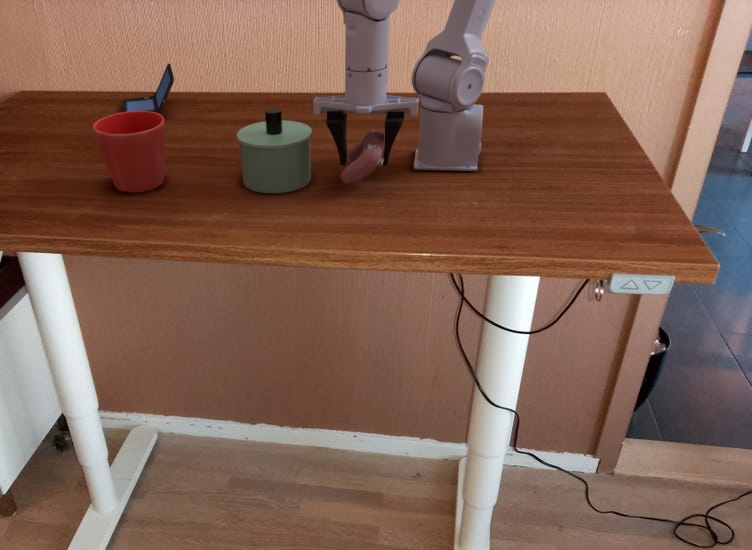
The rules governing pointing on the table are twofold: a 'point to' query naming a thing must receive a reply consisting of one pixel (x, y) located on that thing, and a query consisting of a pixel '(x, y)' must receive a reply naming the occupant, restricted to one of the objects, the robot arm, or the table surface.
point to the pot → (276, 168)
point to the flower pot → (133, 149)
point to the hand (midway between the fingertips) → (364, 163)
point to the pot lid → (274, 132)
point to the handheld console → (155, 101)
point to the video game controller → (364, 157)
